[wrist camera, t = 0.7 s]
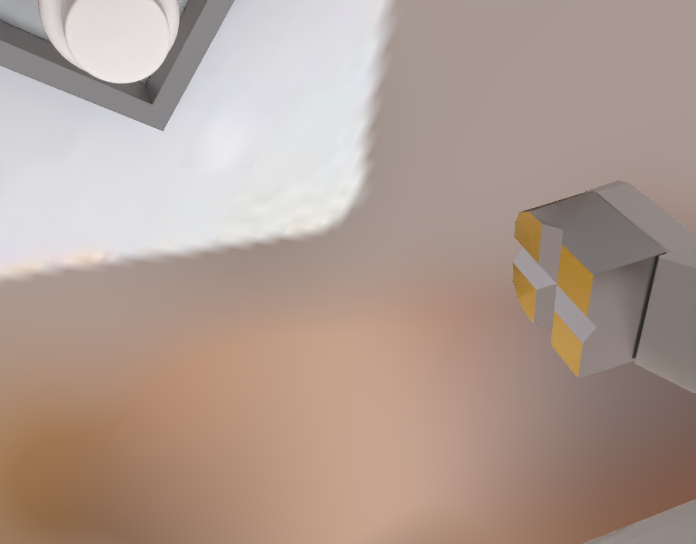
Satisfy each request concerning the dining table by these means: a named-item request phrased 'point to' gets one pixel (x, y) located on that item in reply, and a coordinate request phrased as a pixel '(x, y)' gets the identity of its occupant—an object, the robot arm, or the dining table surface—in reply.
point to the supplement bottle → (112, 35)
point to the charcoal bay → (124, 98)
